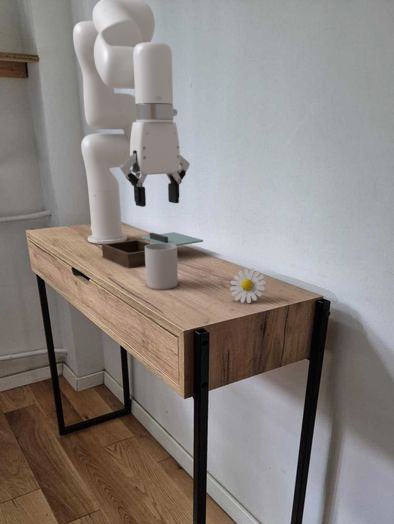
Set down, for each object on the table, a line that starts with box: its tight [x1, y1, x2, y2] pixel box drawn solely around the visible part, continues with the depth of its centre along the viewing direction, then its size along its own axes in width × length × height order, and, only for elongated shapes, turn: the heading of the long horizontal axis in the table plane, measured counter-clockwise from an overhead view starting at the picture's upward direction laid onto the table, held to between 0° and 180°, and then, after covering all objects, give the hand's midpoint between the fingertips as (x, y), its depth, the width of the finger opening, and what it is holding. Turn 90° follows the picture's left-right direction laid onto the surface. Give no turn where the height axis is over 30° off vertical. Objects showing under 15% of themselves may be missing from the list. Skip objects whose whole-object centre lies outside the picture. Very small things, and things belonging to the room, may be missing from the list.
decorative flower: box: [229, 268, 267, 304], centre depth 105 cm, size 8×6×15 cm
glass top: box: [141, 231, 204, 247], centre depth 139 cm, size 15×12×2 cm
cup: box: [145, 242, 179, 290], centre depth 111 cm, size 7×10×9 cm
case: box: [101, 239, 151, 269], centre depth 133 cm, size 15×12×4 cm
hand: (157, 203), depth 105 cm, fingers open, 8 cm apart
